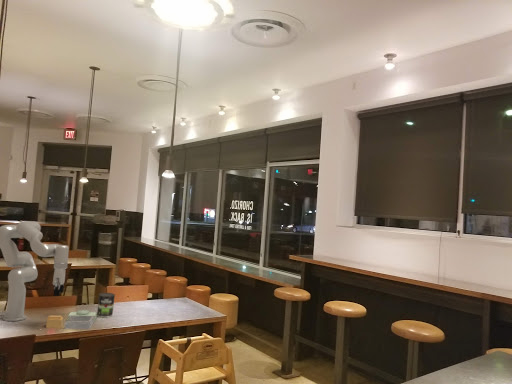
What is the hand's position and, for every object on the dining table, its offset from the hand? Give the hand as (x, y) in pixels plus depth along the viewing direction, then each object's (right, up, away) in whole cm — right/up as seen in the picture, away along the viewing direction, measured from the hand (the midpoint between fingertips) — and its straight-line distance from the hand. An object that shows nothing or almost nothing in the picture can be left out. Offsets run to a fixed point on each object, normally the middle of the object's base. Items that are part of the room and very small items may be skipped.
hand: (58, 294), depth 242 cm
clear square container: (+10, -20, +4) cm, 23 cm away
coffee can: (+17, -22, +30) cm, 41 cm away
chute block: (-2, -19, -1) cm, 19 cm away
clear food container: (+8, -21, +16) cm, 27 cm away
